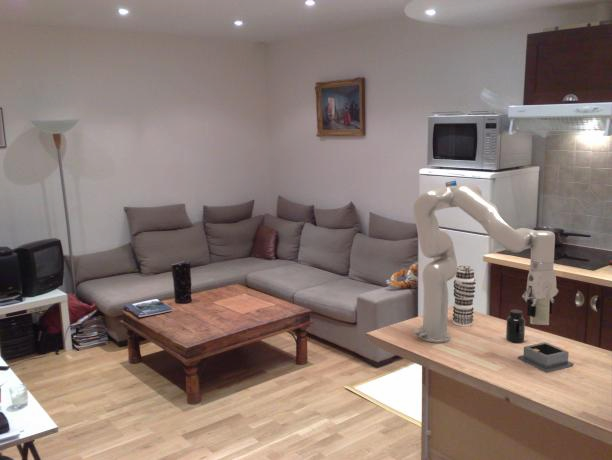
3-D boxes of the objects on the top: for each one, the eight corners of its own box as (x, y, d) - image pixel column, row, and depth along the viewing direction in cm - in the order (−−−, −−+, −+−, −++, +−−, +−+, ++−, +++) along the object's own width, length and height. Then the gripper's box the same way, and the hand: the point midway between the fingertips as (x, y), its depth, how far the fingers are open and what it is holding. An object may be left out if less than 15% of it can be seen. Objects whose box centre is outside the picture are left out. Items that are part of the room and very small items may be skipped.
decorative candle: (477, 322, 243) (479, 266, 239) (468, 327, 236) (471, 270, 232) (457, 317, 249) (459, 263, 245) (448, 323, 242) (450, 267, 238)
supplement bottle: (521, 337, 225) (523, 308, 223) (526, 343, 219) (528, 314, 217) (503, 336, 226) (505, 308, 224) (508, 343, 219) (509, 313, 217)
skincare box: (548, 321, 201) (549, 289, 199) (549, 325, 197) (550, 292, 195) (529, 320, 203) (530, 287, 201) (529, 324, 199) (531, 291, 197)
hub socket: (546, 372, 192) (547, 357, 191) (517, 359, 204) (518, 344, 203) (573, 366, 198) (574, 351, 197) (543, 353, 209) (544, 338, 208)
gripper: (531, 271, 190) (529, 321, 193) (568, 265, 197) (565, 313, 200) (515, 266, 196) (513, 315, 199) (551, 261, 203) (548, 308, 206)
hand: (539, 314), depth 199 cm, fingers closed on skincare box, 7 cm apart
